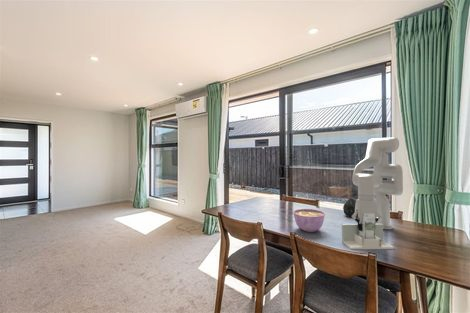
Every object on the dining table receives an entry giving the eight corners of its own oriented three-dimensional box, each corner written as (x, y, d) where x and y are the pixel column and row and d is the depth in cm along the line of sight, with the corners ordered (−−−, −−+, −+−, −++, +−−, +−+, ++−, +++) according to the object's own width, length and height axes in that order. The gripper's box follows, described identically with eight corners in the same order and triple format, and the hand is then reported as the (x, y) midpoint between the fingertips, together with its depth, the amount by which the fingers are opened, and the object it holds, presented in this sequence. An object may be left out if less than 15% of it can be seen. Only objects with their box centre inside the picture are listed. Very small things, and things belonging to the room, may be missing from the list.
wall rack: (342, 241, 128) (341, 224, 127) (381, 241, 127) (381, 223, 127) (351, 249, 117) (350, 230, 117) (394, 249, 116) (393, 230, 116)
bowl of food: (297, 223, 161) (296, 207, 161) (326, 227, 152) (326, 210, 152) (290, 232, 143) (289, 214, 143) (323, 237, 134) (323, 218, 134)
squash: (367, 208, 178) (353, 193, 183) (367, 213, 165) (352, 197, 170) (353, 218, 184) (339, 203, 189) (352, 224, 171) (337, 208, 176)
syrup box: (368, 236, 125) (368, 210, 125) (375, 240, 119) (374, 213, 119) (358, 236, 125) (358, 210, 125) (364, 240, 119) (364, 213, 119)
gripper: (377, 196, 125) (378, 228, 125) (346, 196, 126) (347, 228, 126) (386, 198, 118) (386, 232, 118) (353, 199, 118) (353, 232, 118)
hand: (366, 230), depth 122 cm, fingers closed on syrup box, 5 cm apart
